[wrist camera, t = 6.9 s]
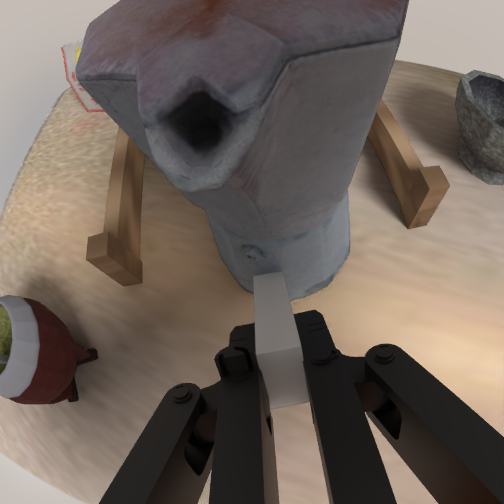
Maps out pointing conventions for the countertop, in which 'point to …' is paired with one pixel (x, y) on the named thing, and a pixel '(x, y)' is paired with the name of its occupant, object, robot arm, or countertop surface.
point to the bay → (131, 179)
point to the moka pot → (251, 115)
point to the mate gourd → (37, 354)
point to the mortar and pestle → (481, 125)
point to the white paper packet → (70, 61)
